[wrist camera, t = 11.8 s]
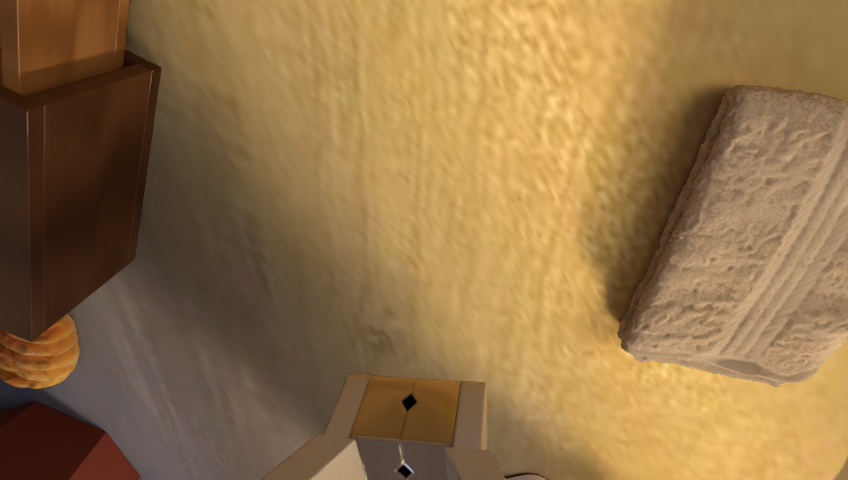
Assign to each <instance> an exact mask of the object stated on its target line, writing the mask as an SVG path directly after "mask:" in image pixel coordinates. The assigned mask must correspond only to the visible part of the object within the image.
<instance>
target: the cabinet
mask: <svg viewBox="0 0 848 480" xmlns="http://www.w3.org/2000/svg"><path fill="white" fill-rule="evenodd" d="M160 74H161V67H159V66H157V65H155V64H153V63H151V62H149V61H147V60H145V59H143V58H141V57H139V56H137V55H135V54H133V53H131V52H129V51H127V50H125V52H124V63H123V68H121V69H117V70H114V71H110V72H107V73H103V74H100V75H97V76H93V77H90V78H86V79H83V80H79V81H76V82H72V83H69V84H66V85H62V86H59V87H55V88H52V89H48V90H45V91H41V92H38V93H34V94H31V95H28V96H26V97H25V96H23V95H20V94H18V93H16V92H14V91H12V90H10V89H8V88H6V87H4V86H2V85H0V329H1V330H4V331H6V332H8V333H11V334H13V335H15V336H18V337H20V338H22V339H25V340H27V341H30V342H32V341H34V340H35V339H36V338H37V337H39V336H40V335H41V334H42V333H43V332H45V331H46V330H47V329H49V328H50V327H51V326H52V325H54V324H55V323H56V322H57V321H59V320H60V319H61V318H62V317H64V316H65V315H66V314H67V313H68V312H70V311H71V310H72V309H73V308H75V307H76V306H77V305H78V304H80V303H81V302H82V301H83V300H85V299H86V298H87V297H88V296H90V295H91V294H92V293H93V292H94V291H96V290H97V289H98V288H99V287H101V286H102V285H103V284H104V283H106V282H107V281H108V280H109V279H111V278H112V277H113V276H114V275H116V274H117V273H118V272H119V271H120V270H122V269H123V268H124V267H125V266H127V265H128V264H129V263H130V262H131V261H133V260H134V259H135V252H136V245H137V238H138V231H139V224H140V217H141V209H142V202H143V195H144V188H145V181H146V174H147V167H148V159H149V152H150V145H151V138H152V131H153V124H154V117H155V109H156V102H157V95H158V88H159V81H160Z"/></svg>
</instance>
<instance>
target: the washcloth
mask: <svg viewBox="0 0 848 480" xmlns="http://www.w3.org/2000/svg"><path fill="white" fill-rule="evenodd" d="M725 90H726V94H725V96H724V97H723V98H722V100H721V105H720V106H719V108H718V113H717V115H716V116H715V118H714V120H713V121H712V125H711V128H709V129H708V130H707V131H706V135H707V137H706V140H705V143H704V144H702V145H701V146H700V150H699V154H698V156H697V159H696V162H695V164H694V166H693V168H692V170H691V171H690V173H689V178H688V179H687V180H686V185H685V186H684V187H683V188H682V192H681V194H680V196H679V197H678V198H677V200H676V202H675V203H676V206H675V209H674V210H673V212H672V213H671V214H670V215H669V219H668V220H667V221H666V223H667V225H666V227H665V230H664V232H663V236H662V237H661V240H660V242H659V249H658V250H657V251H656V252H655V254H654V257H653V259H652V260H651V261H650V263H649V269H648V270H647V271H646V276H645V278H644V279H643V281H641V282H640V284H639V286H638V287H637V289H636V290H635V292H634V294H635V295H634V297H633V299H632V300H631V302H630V305H631V306H630V307H629V309H628V312H627V313H626V314H625V316H624V318H623V319H622V322H621V323H620V325H619V329H618V332H617V334H618V337H619V338H620V339H621V340H622V343H621V347H622V349H624V350H625V351H627V352H628V353H631V355H633V356H634V358H635V359H636V360H637V361H639V362H641V363H643V362H647V361H658V362H663V363H672V364H677V365H680V366H685V367H688V368H693V369H697V370H703V371H708V372H712V373H715V374H720V375H725V376H728V377H732V378H736V379H741V380H747V381H752V382H758V383H764V384H769V385H772V386H774V387H779V386H781V385H782V384H784V383H785V382H788V383H800V382H802V381H805V380H807V379H809V378H810V377H812V376H813V375H814V373H815V372H816V371H817V369H818V368H819V367H820V366H821V365H822V364H823V363H824V362H825V361H826V359H827V358H828V357H829V356H830V355H831V354H832V353H833V352H834V351H835V350H836V349H837V348H838V347H839V346H840V345H841V344H843V343H844V342H846V340H847V339H848V103H846V102H845V101H844V100H843V99H837V98H836V97H830V96H825V95H821V94H817V93H805V92H803V91H788V90H783V89H781V88H775V89H772V88H770V87H766V88H765V87H761V86H758V87H756V86H744V85H742V86H739V85H737V86H735V87H733V88H732V89H729V88H725ZM707 133H708V134H707Z"/></svg>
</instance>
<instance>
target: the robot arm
mask: <svg viewBox="0 0 848 480" xmlns="http://www.w3.org/2000/svg"><path fill="white" fill-rule="evenodd" d="M261 480H546V479H544V478H543V477H541V476H538V475H522V476H516V477H512V478H507V479H505V477H504V476H503V474H502V472H501V471H500V469H499V467H498V466H497V464H496V462H495V461H494V459H493V457H492V456H491V454H490V452H489V451H488V450H487V388H486V383H485V382H471V381H456V380H437V379H419V378H417V379H412V378H401V377H390V376H379V375H364V374H352V373H351V374H350V375H349V376H348V377H347V378H346V380H345V383H344V385H343V388H342V390H341V392H340V395H339V397H338V400H337V402H336V405H335V407H334V409H333V412H332V414H331V417H330V419H329V422H328V424H327V426H326V429H325V431H324V434H323V435H315V436H314V437H313V438H312V439H310V440H309V441H308V442H307V443H305V444H304V445H303V446H302V447H301V448H299V449H298V450H297V451H296V452H294V453H293V454H292V455H291V456H289V457H288V458H287V459H286V460H284V461H283V462H282V463H281V464H279V465H278V466H277V467H276V468H274V469H273V470H272V471H271V472H269V473H268V474H267V475H266V476H265V477H263V478H262V479H261Z"/></svg>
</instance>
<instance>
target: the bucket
mask: <svg viewBox="0 0 848 480" xmlns="http://www.w3.org/2000/svg"><path fill="white" fill-rule="evenodd" d="M139 478H140V476H139V474H138V473H137V472H136V470H135V469H134V468H133V466H132V465H131V464H130V463H129V461H128V460H127V459H126V457H125V456H124V455H123V454H122V452H121V451H120V450H119V448H118V447H117V446H116V444H115V443H114V442H113V441H112V439H111V438H110V437H109V435H108V434H107V433H106V432H104V431H102V430H100V429H97V428H95V427H93V426H91V425H88V424H86V423H84V422H82V421H79V420H77V419H75V418H72V417H70V416H68V415H66V414H63V413H61V412H59V411H56V410H54V409H52V408H50V407H47V406H45V405H43V404H40V403H38V402H34V403H30V404H26V405H22V406H18V407H14V408H10V409H6V410H3V411H0V480H139Z"/></svg>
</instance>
